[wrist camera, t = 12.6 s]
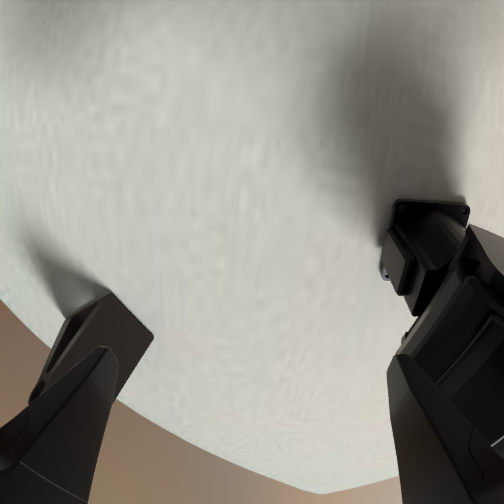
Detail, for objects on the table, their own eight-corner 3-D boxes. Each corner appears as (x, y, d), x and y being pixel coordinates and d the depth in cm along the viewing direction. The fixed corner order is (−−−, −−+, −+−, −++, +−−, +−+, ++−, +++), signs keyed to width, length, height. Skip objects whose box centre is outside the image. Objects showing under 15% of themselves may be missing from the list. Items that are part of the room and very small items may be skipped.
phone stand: (113, 291, 25) (52, 402, 15) (155, 335, 28) (116, 446, 18) (65, 318, 28) (14, 405, 18) (102, 354, 31) (63, 442, 20)
